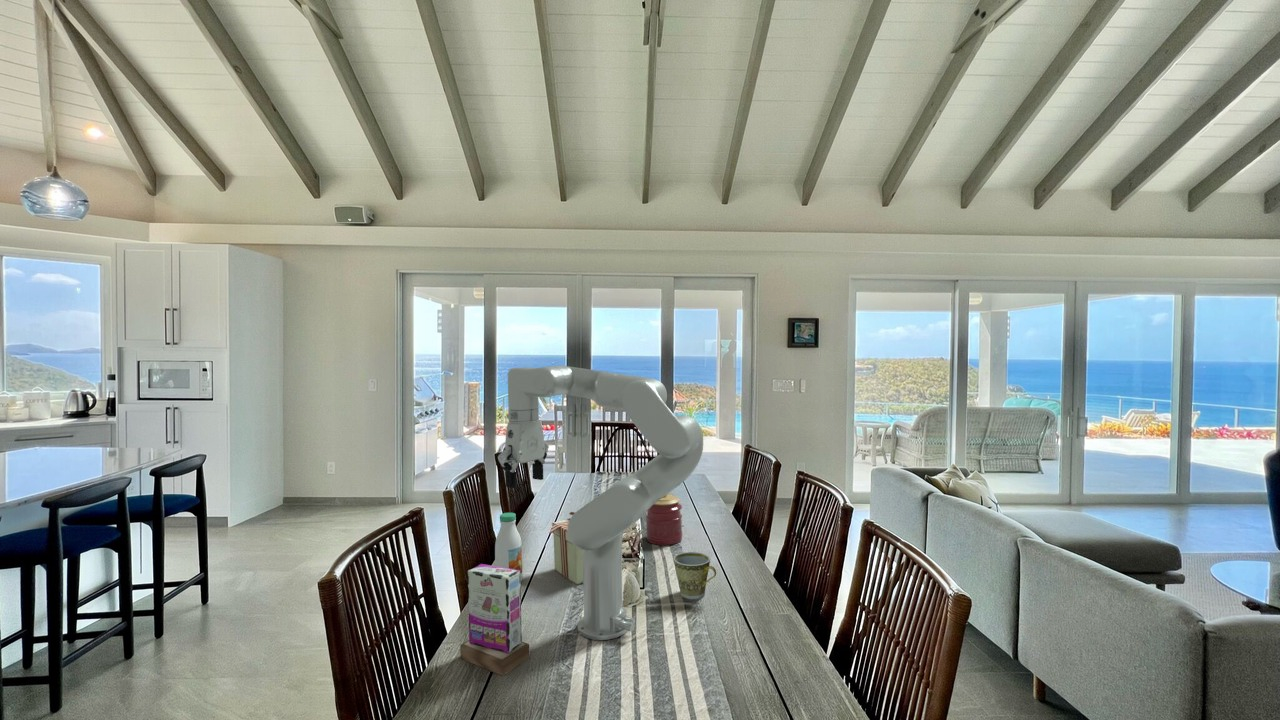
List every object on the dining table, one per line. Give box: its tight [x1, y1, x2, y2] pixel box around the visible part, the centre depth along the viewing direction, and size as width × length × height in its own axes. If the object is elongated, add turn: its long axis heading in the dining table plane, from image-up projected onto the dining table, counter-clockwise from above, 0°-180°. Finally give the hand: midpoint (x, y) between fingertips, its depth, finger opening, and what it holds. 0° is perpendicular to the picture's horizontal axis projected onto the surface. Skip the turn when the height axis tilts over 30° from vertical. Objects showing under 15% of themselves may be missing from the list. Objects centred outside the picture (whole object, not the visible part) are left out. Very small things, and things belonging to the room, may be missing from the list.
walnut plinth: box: [459, 639, 530, 677], centre depth 122 cm, size 13×8×3 cm, turn 58°
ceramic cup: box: [673, 551, 717, 600], centre depth 151 cm, size 13×10×10 cm
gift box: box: [549, 511, 583, 585], centre depth 168 cm, size 17×18×17 cm
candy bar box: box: [467, 563, 523, 653], centre depth 122 cm, size 11×5×16 cm, turn 66°
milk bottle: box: [494, 512, 523, 583], centre depth 163 cm, size 8×8×20 cm
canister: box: [645, 493, 683, 546], centre depth 197 cm, size 13×13×18 cm
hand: (525, 483), depth 140 cm, fingers open, 9 cm apart
